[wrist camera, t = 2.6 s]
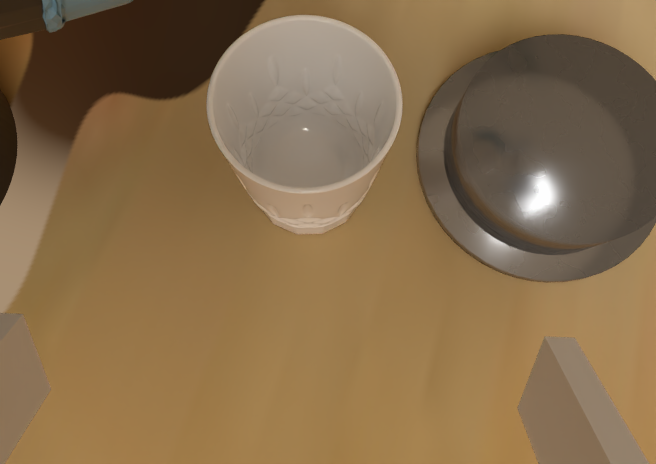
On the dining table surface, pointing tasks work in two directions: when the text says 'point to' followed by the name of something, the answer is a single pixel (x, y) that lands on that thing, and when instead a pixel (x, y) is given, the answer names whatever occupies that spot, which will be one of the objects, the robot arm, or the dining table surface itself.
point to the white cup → (305, 118)
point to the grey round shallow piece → (543, 158)
